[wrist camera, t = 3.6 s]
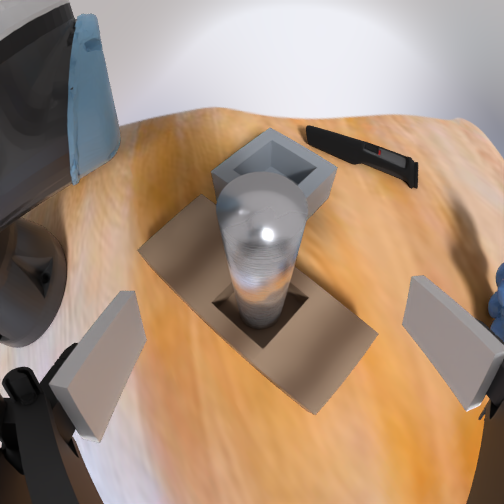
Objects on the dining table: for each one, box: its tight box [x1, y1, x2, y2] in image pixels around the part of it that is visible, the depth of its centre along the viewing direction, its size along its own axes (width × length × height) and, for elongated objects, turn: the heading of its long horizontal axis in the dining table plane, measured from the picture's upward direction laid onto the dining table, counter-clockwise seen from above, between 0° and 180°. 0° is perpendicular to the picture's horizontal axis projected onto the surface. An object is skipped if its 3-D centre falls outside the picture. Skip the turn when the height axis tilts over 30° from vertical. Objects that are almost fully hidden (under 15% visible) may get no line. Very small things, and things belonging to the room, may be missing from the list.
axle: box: [216, 172, 308, 330], centre depth 18 cm, size 4×4×15 cm
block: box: [211, 128, 338, 221], centre depth 29 cm, size 8×8×5 cm
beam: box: [137, 194, 378, 415], centre depth 25 cm, size 20×8×4 cm, turn 48°
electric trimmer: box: [306, 126, 418, 189], centre depth 33 cm, size 4×16×3 cm, turn 67°
